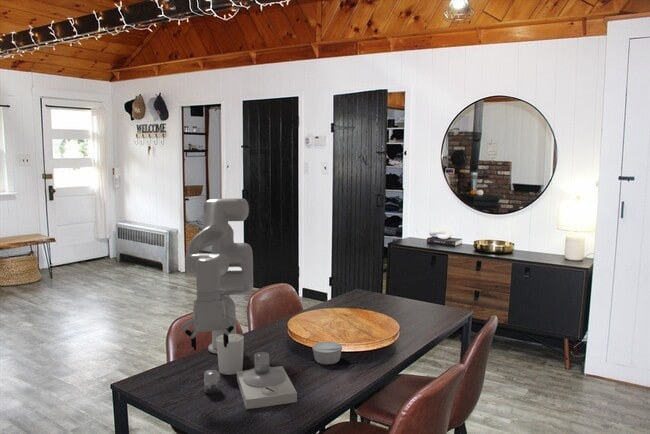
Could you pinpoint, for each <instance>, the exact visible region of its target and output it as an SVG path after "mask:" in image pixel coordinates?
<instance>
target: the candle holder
mask: <svg viewBox="0 0 650 434" xmlns="http://www.w3.org/2000/svg"><path fill="white" fill-rule="evenodd" d="M228 340H229V344H227V347H224V341H223V335H220V336H218V337H217V338H216V342H217V353H218V354H217V362H218V363H217V364H218V371H219V372H220V374H222V375H228V376H231V375H237V371H243V368H244V341H245V337H244V335H243V334H240V333H236V334H233V333H232V334H229V335H228Z"/></svg>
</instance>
